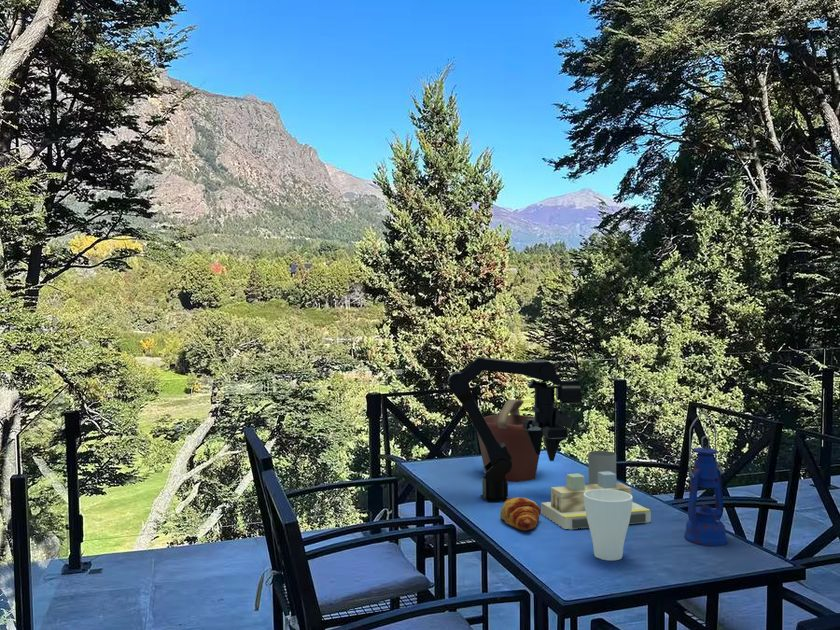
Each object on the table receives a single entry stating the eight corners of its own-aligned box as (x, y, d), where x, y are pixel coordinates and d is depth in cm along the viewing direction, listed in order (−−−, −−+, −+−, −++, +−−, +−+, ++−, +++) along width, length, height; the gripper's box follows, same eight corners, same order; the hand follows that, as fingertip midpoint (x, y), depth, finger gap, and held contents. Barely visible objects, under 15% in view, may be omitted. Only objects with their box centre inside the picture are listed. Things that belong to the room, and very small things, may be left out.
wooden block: (561, 512, 172) (561, 493, 172) (551, 506, 178) (550, 487, 178) (631, 506, 177) (631, 487, 177) (619, 500, 183) (619, 482, 183)
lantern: (707, 549, 154) (706, 417, 154) (674, 537, 162) (673, 411, 162) (738, 541, 158) (737, 413, 158) (704, 530, 167) (704, 408, 167)
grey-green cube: (572, 490, 174) (572, 477, 174) (566, 487, 177) (566, 474, 177) (584, 490, 175) (584, 476, 175) (578, 486, 178) (578, 473, 178)
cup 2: (604, 567, 143) (604, 503, 143) (574, 551, 152) (573, 491, 152) (643, 560, 147) (643, 498, 147) (611, 545, 156) (611, 486, 156)
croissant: (502, 523, 185) (488, 497, 185) (534, 505, 186) (520, 479, 186) (518, 548, 164) (502, 519, 164) (554, 527, 164) (538, 498, 164)
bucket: (501, 464, 241) (501, 394, 241) (559, 473, 228) (559, 398, 228) (465, 478, 221) (465, 401, 221) (526, 488, 208) (526, 407, 208)
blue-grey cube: (604, 488, 176) (604, 475, 176) (597, 485, 180) (597, 472, 180) (616, 487, 177) (616, 474, 177) (609, 484, 180) (609, 471, 180)
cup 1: (609, 490, 205) (609, 457, 205) (584, 486, 210) (584, 454, 210) (620, 484, 212) (620, 452, 212) (595, 480, 217) (595, 449, 217)
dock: (566, 530, 167) (566, 518, 167) (541, 513, 181) (541, 502, 181) (652, 523, 173) (652, 510, 173) (621, 507, 187) (621, 495, 187)
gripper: (585, 406, 188) (585, 462, 188) (555, 398, 207) (556, 449, 207) (548, 408, 186) (548, 465, 186) (521, 400, 204) (522, 452, 204)
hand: (544, 457), depth 196 cm, fingers open, 9 cm apart
